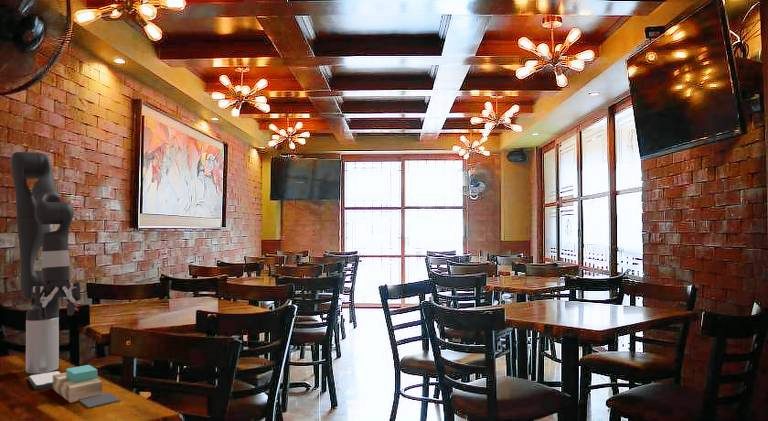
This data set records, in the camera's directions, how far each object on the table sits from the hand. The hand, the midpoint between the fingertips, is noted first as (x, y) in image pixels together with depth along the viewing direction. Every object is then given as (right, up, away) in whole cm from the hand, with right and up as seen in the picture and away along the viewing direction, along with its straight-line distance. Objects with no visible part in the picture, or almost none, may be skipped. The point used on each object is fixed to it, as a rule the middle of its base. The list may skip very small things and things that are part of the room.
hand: (57, 317), depth 165 cm
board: (+13, -19, -13) cm, 27 cm away
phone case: (-2, -20, -1) cm, 20 cm away
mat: (+24, -19, -21) cm, 37 cm away
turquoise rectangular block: (+15, -15, -13) cm, 25 cm away
